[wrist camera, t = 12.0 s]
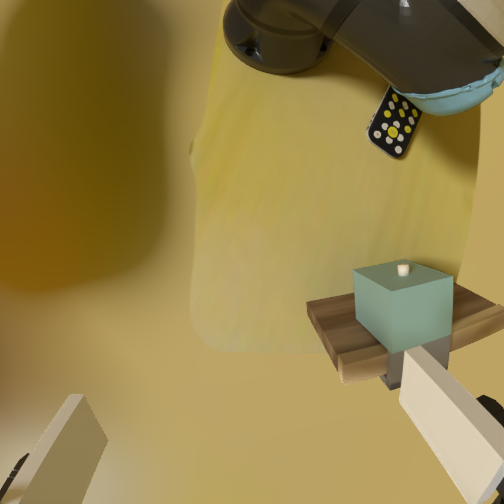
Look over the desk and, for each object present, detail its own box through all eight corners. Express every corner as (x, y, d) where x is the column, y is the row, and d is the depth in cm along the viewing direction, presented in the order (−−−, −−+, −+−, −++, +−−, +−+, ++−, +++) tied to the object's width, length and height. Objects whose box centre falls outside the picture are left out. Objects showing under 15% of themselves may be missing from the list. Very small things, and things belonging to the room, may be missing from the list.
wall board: (306, 300, 43) (343, 365, 26) (436, 272, 43) (508, 309, 26) (307, 316, 43) (343, 385, 26) (436, 286, 43) (505, 327, 27)
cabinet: (351, 261, 34) (390, 280, 24) (404, 251, 34) (453, 265, 24) (357, 349, 35) (390, 390, 26) (406, 336, 36) (447, 369, 26)
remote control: (424, 96, 38) (431, 94, 36) (395, 162, 40) (402, 161, 38) (393, 72, 37) (399, 68, 35) (361, 138, 39) (366, 136, 37)
